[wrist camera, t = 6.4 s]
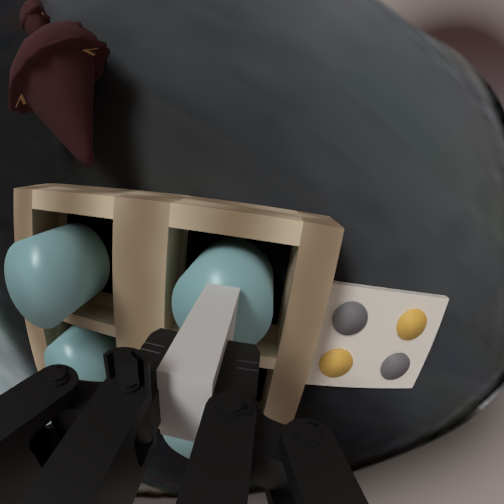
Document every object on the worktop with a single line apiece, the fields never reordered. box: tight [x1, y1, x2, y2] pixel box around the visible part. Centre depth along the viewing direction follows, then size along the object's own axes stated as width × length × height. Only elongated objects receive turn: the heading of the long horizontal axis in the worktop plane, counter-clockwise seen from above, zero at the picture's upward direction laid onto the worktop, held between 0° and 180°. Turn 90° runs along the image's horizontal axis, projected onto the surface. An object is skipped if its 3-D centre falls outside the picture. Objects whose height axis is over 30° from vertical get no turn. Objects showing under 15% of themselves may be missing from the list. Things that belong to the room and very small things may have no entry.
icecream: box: [8, 0, 110, 167], centre depth 13 cm, size 7×7×15 cm
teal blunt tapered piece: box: [172, 238, 273, 344], centre depth 16 cm, size 5×5×5 cm
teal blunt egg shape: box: [4, 223, 110, 329], centre depth 14 cm, size 5×5×5 cm
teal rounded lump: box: [44, 325, 117, 382], centre depth 18 cm, size 5×5×5 cm
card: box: [305, 281, 449, 388], centre depth 19 cm, size 10×8×1 cm
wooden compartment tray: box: [14, 183, 344, 429], centre depth 18 cm, size 20×16×4 cm
